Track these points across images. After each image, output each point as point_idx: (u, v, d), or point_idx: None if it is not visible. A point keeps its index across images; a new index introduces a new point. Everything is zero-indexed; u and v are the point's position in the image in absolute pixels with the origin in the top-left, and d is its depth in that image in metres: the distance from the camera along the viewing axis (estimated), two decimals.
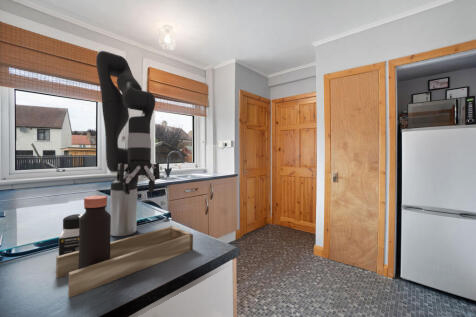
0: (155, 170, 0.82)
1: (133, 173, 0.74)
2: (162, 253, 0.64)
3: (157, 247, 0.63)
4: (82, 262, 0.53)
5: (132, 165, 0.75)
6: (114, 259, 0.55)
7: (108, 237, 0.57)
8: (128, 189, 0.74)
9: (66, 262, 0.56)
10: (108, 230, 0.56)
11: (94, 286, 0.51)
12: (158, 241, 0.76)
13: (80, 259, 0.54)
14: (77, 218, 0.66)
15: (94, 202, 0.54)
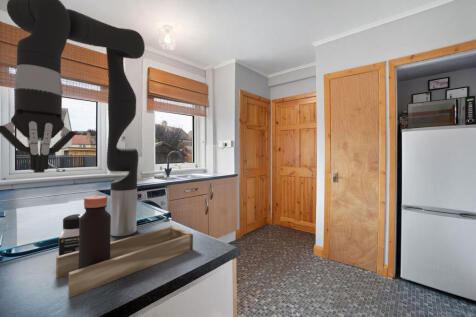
0: (62, 138, 0.50)
1: (32, 136, 0.46)
2: (162, 253, 0.64)
3: (157, 247, 0.63)
4: (82, 262, 0.53)
5: (20, 119, 0.45)
6: (114, 259, 0.55)
7: (108, 237, 0.57)
8: (37, 164, 0.47)
9: (66, 262, 0.56)
10: (108, 230, 0.56)
11: (94, 286, 0.51)
12: (158, 241, 0.76)
13: (80, 259, 0.54)
14: (77, 218, 0.66)
15: (94, 202, 0.54)
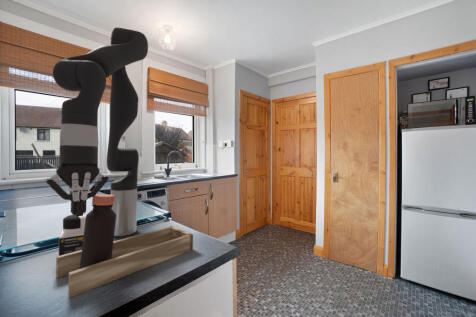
0: (97, 183, 0.56)
1: (74, 185, 0.52)
2: (162, 253, 0.64)
3: (157, 247, 0.63)
4: (85, 259, 0.54)
5: (64, 171, 0.51)
6: (114, 259, 0.55)
7: (112, 236, 0.57)
8: (77, 209, 0.53)
9: (66, 262, 0.56)
10: (113, 229, 0.57)
11: (94, 286, 0.51)
12: (158, 241, 0.76)
13: (83, 256, 0.54)
14: (77, 218, 0.66)
15: (102, 200, 0.55)
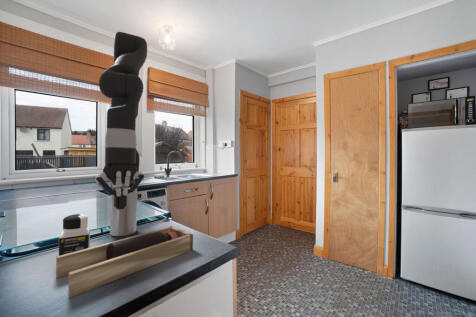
0: (135, 180, 0.64)
1: (118, 182, 0.59)
2: (162, 253, 0.64)
3: (157, 247, 0.63)
4: (130, 241, 0.63)
5: (110, 170, 0.58)
6: (114, 259, 0.55)
7: None
8: (120, 203, 0.60)
9: (66, 262, 0.56)
10: None
11: (94, 286, 0.51)
12: None
13: (131, 239, 0.64)
14: (77, 218, 0.66)
15: (175, 237, 0.73)
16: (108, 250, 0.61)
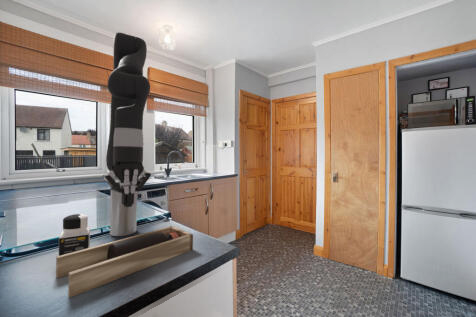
0: (142, 179, 0.65)
1: (126, 180, 0.60)
2: (162, 253, 0.64)
3: (157, 247, 0.63)
4: (133, 243, 0.62)
5: (118, 168, 0.59)
6: (114, 259, 0.55)
7: None
8: (127, 201, 0.62)
9: (66, 262, 0.56)
10: None
11: (94, 286, 0.51)
12: None
13: (134, 241, 0.63)
14: (77, 218, 0.66)
15: None
16: (110, 249, 0.61)
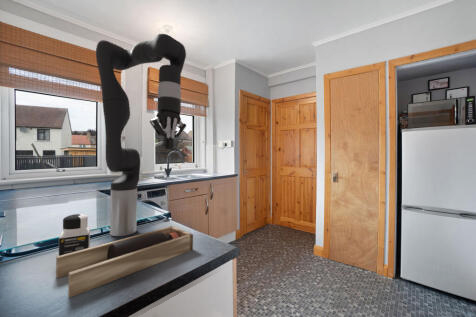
0: (179, 128, 0.77)
1: (168, 126, 0.73)
2: (162, 253, 0.64)
3: (157, 247, 0.63)
4: (133, 243, 0.62)
5: (162, 115, 0.72)
6: (114, 259, 0.55)
7: None
8: (169, 144, 0.74)
9: (66, 262, 0.56)
10: None
11: (94, 286, 0.51)
12: None
13: (134, 241, 0.63)
14: (77, 218, 0.66)
15: None
16: (110, 249, 0.61)
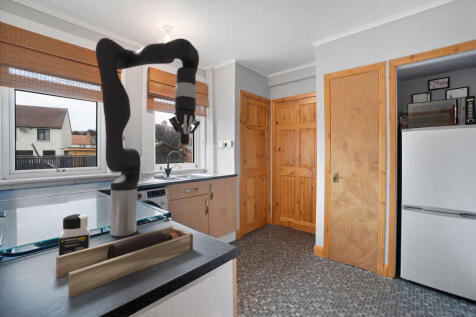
0: (194, 125, 0.84)
1: (185, 123, 0.80)
2: (162, 253, 0.64)
3: (157, 247, 0.63)
4: (133, 243, 0.62)
5: (180, 113, 0.78)
6: (114, 259, 0.55)
7: None
8: (185, 139, 0.81)
9: (66, 262, 0.56)
10: None
11: (94, 286, 0.51)
12: None
13: (134, 241, 0.63)
14: (77, 218, 0.66)
15: None
16: (110, 249, 0.61)
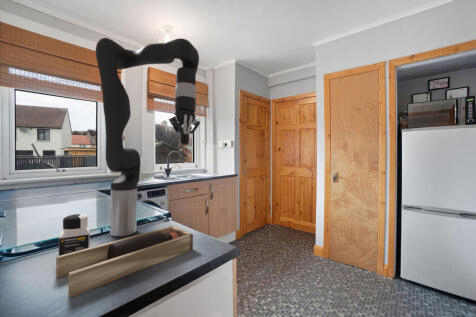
0: (194, 125, 0.84)
1: (185, 123, 0.80)
2: (162, 253, 0.64)
3: (157, 247, 0.63)
4: (133, 243, 0.62)
5: (180, 113, 0.78)
6: (114, 259, 0.55)
7: None
8: (185, 139, 0.81)
9: (66, 262, 0.56)
10: None
11: (94, 286, 0.51)
12: None
13: (134, 241, 0.63)
14: (77, 218, 0.66)
15: None
16: (110, 249, 0.61)
